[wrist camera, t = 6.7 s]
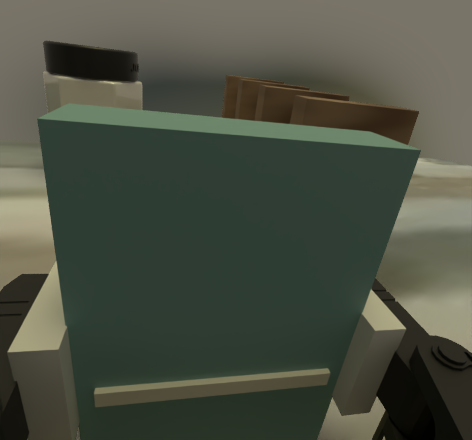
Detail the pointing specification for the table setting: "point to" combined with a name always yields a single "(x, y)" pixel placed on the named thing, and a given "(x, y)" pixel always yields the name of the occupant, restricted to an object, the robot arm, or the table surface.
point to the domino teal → (213, 266)
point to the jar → (91, 77)
